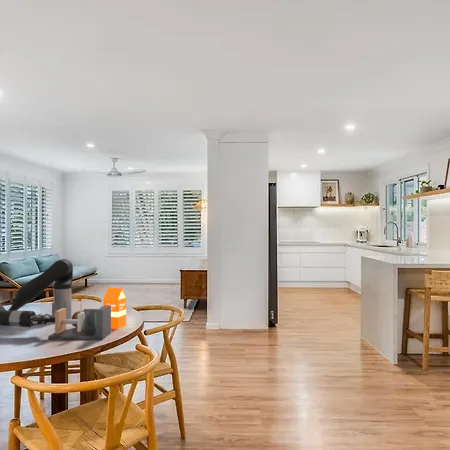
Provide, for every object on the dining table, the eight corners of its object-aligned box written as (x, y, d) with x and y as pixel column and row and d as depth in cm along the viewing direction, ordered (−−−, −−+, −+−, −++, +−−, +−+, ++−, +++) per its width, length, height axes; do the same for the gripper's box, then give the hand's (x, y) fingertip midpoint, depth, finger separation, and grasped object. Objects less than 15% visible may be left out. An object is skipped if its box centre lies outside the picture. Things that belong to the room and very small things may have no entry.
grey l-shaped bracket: (48, 339, 178) (48, 309, 179) (60, 332, 190) (60, 304, 191) (102, 340, 178) (102, 310, 178) (111, 332, 190) (111, 305, 190)
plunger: (55, 333, 179) (55, 311, 179) (62, 328, 187) (62, 308, 187) (76, 333, 179) (76, 311, 179) (83, 329, 187) (83, 308, 187)
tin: (74, 329, 196) (74, 312, 196) (70, 328, 198) (70, 312, 198) (98, 323, 209) (98, 307, 209) (94, 322, 210) (94, 307, 211)
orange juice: (117, 329, 197) (118, 289, 197) (102, 327, 199) (102, 288, 199) (126, 325, 204) (126, 287, 204) (111, 324, 207) (111, 286, 207)
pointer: (77, 331, 180) (77, 303, 180) (82, 328, 186) (82, 301, 186) (79, 332, 180) (79, 303, 180) (84, 328, 186) (84, 301, 186)
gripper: (29, 323, 191) (64, 324, 190) (14, 330, 177) (51, 332, 177) (30, 307, 191) (65, 309, 190) (14, 313, 177) (52, 315, 177)
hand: (58, 320), depth 183 cm, fingers closed
